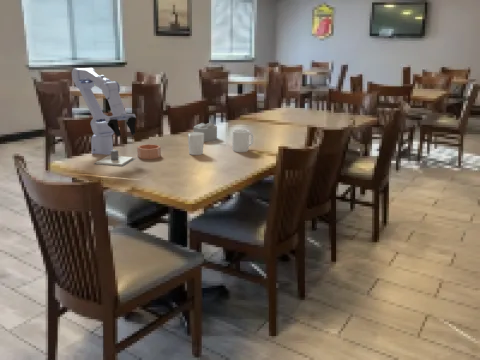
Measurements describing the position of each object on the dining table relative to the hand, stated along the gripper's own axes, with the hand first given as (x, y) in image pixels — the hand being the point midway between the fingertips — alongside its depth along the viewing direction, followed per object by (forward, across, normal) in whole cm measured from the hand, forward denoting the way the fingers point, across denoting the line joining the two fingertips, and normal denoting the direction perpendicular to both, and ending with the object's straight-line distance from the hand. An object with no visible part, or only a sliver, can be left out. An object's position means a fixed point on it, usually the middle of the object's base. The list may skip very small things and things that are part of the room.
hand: (126, 135), depth 202 cm
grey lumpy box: (+4, +59, +15) cm, 61 cm away
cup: (+20, +56, -12) cm, 61 cm away
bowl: (+10, +12, +6) cm, 17 cm away
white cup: (+15, +33, -3) cm, 36 cm away
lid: (+9, -5, +8) cm, 13 cm away
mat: (+9, -5, +8) cm, 13 cm away
